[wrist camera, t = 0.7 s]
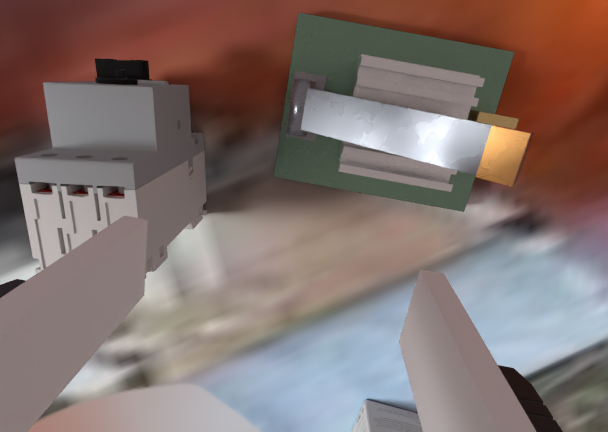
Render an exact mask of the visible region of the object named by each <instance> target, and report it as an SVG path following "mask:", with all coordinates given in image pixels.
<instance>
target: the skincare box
mask: <svg viewBox="0 0 608 432" xmlns="http://www.w3.org/2000/svg"><path fill="white" fill-rule="evenodd" d="M351 432H423V430H422V427H421V423H420V419H419V415H418V413H414V412H410V411H407V410H403V409H399V408H395V407H392V406H388V405H384V404H381V403H377V402H373V401H369V400H365V401H364V403H363V406H362V408H361V410H360V412H359V415H358V417H357V419H356V422H355V424H354V426H353V429H352V431H351Z"/></svg>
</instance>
